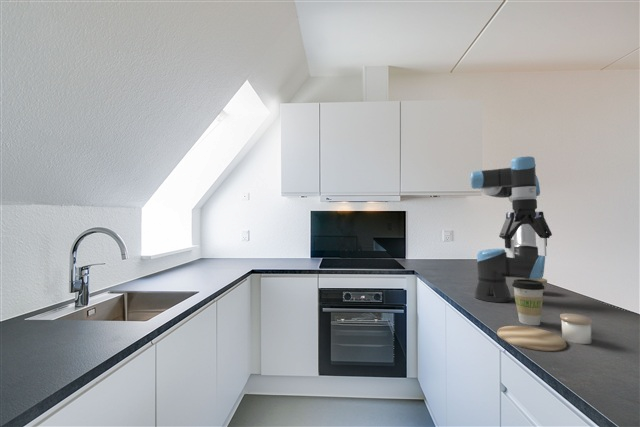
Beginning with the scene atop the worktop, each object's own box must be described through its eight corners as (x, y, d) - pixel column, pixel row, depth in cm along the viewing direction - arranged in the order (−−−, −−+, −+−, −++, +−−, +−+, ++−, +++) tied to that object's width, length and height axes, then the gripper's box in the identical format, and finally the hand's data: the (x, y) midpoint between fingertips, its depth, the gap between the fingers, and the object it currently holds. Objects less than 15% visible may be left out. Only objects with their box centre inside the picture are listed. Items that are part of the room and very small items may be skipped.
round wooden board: (484, 330, 102) (484, 328, 102) (529, 325, 105) (529, 323, 105) (530, 354, 84) (530, 351, 84) (582, 347, 88) (582, 344, 88)
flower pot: (527, 295, 145) (526, 280, 145) (520, 290, 154) (519, 276, 154) (551, 296, 141) (550, 281, 142) (543, 291, 151) (542, 277, 151)
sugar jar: (554, 336, 96) (553, 314, 96) (574, 333, 98) (573, 312, 98) (579, 345, 89) (577, 322, 89) (599, 343, 90) (598, 320, 90)
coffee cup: (507, 320, 111) (506, 280, 111) (522, 316, 115) (521, 277, 116) (536, 329, 102) (535, 285, 102) (551, 323, 107) (550, 282, 107)
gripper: (502, 198, 104) (505, 259, 103) (562, 197, 108) (565, 255, 108) (487, 200, 111) (489, 256, 110) (543, 199, 115) (545, 253, 115)
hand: (526, 256), depth 109 cm, fingers open, 13 cm apart
